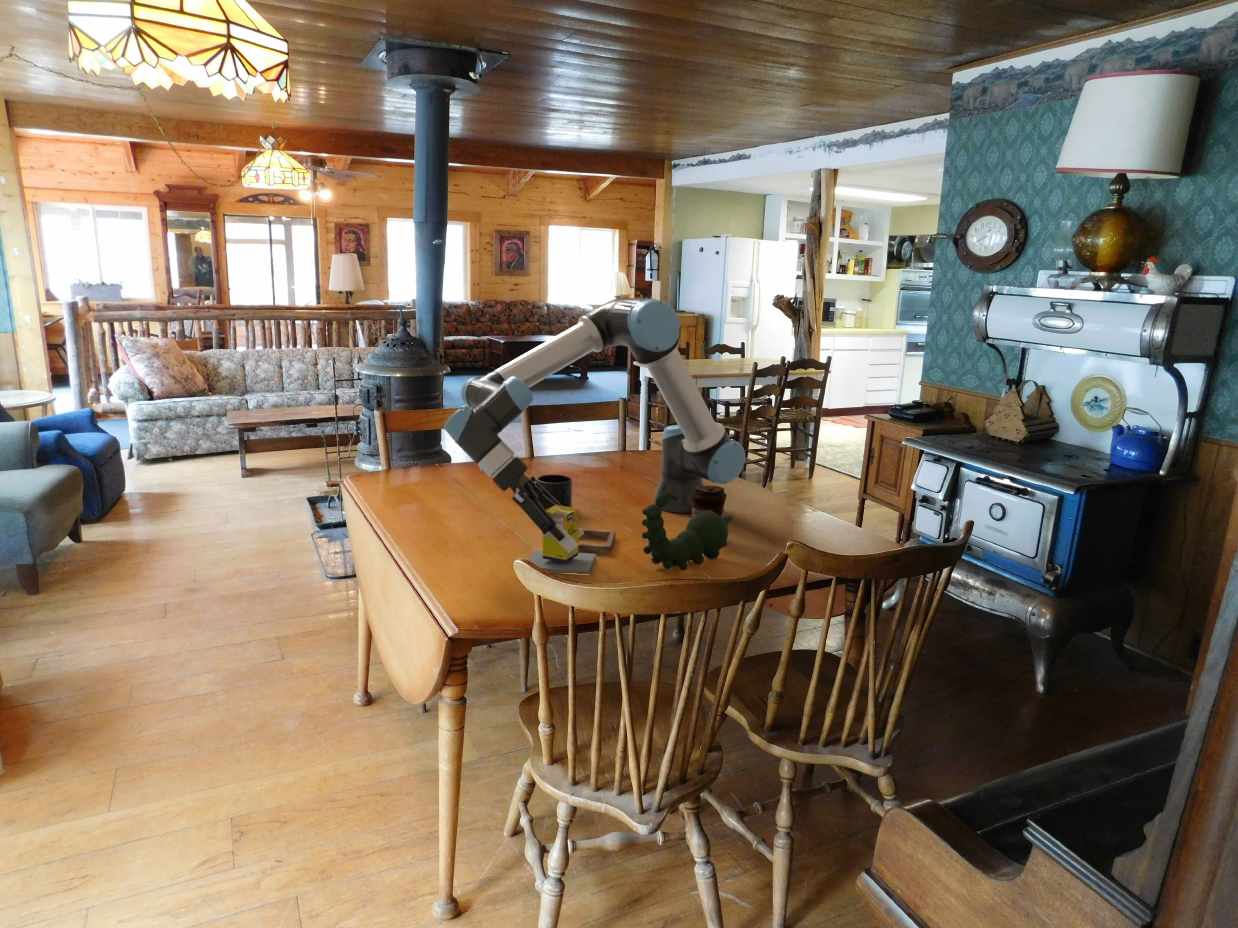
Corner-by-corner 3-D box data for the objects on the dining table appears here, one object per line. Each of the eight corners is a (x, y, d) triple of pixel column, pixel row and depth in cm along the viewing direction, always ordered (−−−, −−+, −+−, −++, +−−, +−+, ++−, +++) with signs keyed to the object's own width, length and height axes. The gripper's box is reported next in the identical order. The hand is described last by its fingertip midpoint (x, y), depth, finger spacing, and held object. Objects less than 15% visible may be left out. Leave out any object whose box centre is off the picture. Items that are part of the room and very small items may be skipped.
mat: (595, 558, 179) (595, 553, 179) (588, 575, 168) (588, 571, 168) (534, 554, 180) (534, 550, 180) (524, 571, 170) (524, 567, 169)
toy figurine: (663, 587, 168) (746, 555, 182) (660, 503, 162) (746, 477, 176) (635, 573, 175) (717, 544, 189) (632, 492, 170) (717, 468, 184)
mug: (553, 520, 206) (554, 487, 203) (530, 509, 215) (530, 477, 213) (583, 515, 211) (584, 482, 209) (559, 504, 220) (559, 472, 218)
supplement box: (578, 555, 175) (579, 508, 173) (565, 563, 170) (566, 515, 168) (555, 550, 178) (555, 504, 175) (541, 558, 173) (542, 510, 170)
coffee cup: (713, 547, 189) (717, 494, 186) (682, 540, 193) (685, 488, 190) (728, 537, 196) (732, 487, 193) (698, 531, 200) (701, 481, 197)
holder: (615, 538, 193) (615, 530, 192) (609, 555, 181) (610, 546, 181) (567, 535, 194) (567, 527, 193) (558, 551, 182) (558, 543, 182)
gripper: (503, 467, 181) (571, 539, 183) (479, 490, 162) (556, 569, 164) (525, 446, 180) (595, 518, 182) (504, 466, 160) (582, 547, 162)
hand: (576, 542), depth 173 cm, fingers closed on supplement box, 7 cm apart
